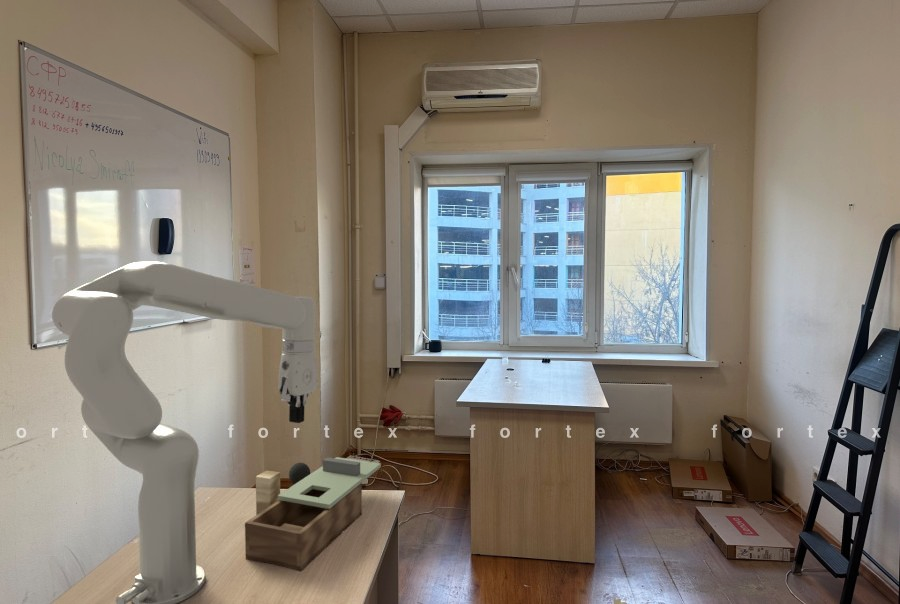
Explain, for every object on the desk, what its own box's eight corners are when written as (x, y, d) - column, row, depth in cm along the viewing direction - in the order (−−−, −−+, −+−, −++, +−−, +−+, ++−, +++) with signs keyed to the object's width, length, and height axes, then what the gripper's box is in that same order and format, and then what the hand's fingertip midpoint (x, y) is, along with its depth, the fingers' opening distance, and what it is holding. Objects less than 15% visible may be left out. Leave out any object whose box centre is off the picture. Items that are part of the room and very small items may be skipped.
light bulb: (298, 505, 132) (298, 468, 132) (284, 500, 135) (284, 464, 135) (314, 497, 137) (314, 462, 136) (300, 492, 140) (300, 457, 139)
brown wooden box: (301, 571, 103) (300, 534, 103) (245, 558, 108) (245, 522, 107) (361, 514, 128) (361, 483, 127) (314, 505, 132) (314, 476, 132)
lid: (329, 509, 113) (329, 491, 113) (277, 499, 118) (277, 483, 117) (380, 467, 138) (380, 452, 138) (336, 460, 142) (336, 446, 142)
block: (270, 527, 121) (269, 478, 121) (256, 524, 122) (255, 476, 122) (280, 519, 125) (280, 472, 124) (267, 516, 126) (266, 470, 126)
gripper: (292, 351, 114) (290, 431, 114) (328, 345, 128) (327, 416, 128) (264, 349, 116) (263, 427, 116) (303, 343, 130) (302, 413, 131)
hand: (296, 421), depth 122 cm, fingers closed
